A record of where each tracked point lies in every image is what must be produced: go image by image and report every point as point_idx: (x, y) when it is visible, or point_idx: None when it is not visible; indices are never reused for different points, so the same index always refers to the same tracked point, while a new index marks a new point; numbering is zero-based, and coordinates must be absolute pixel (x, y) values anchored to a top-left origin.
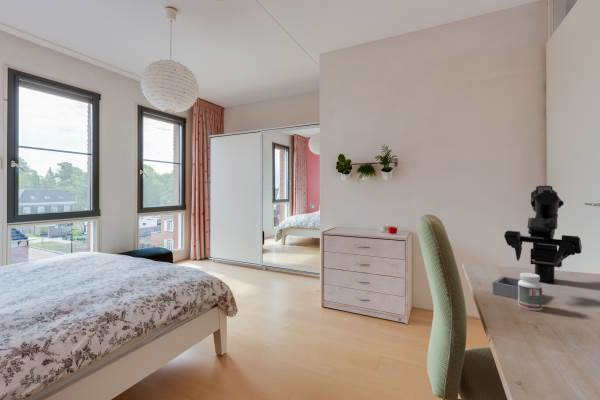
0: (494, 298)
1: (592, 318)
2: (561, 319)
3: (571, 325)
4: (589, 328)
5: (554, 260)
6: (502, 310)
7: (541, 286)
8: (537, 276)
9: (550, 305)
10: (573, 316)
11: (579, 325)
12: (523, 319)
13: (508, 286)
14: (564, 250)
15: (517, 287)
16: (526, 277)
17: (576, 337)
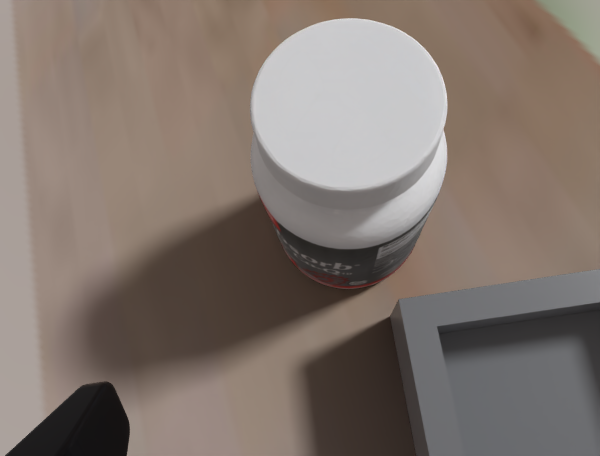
0: (570, 186)
1: (48, 352)
2: (163, 179)
3: (111, 138)
4: (44, 173)
5: (74, 429)
6: (414, 34)
7: (251, 163)
8: (265, 101)
9: (278, 386)
10: (129, 289)
11: (83, 172)
12: (288, 14)
13: (569, 274)
14: None
15: (495, 285)
16: (342, 27)
17: (71, 21)
